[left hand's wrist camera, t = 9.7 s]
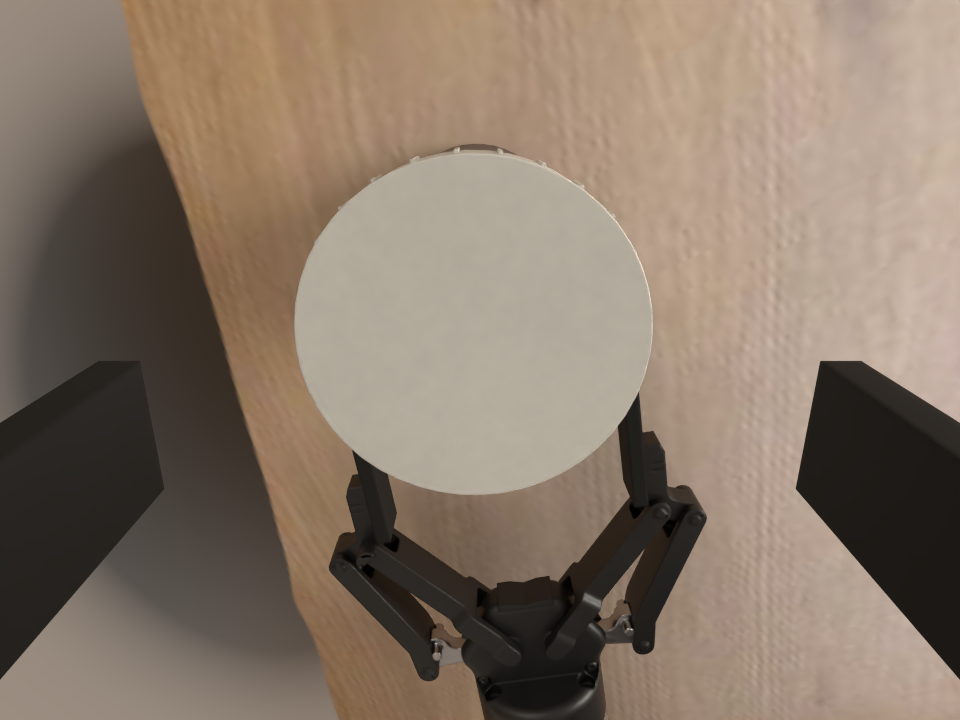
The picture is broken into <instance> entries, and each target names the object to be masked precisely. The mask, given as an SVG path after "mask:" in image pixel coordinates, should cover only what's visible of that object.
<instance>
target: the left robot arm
mask: <svg viewBox="0 0 960 720" xmlns="http://www.w3.org/2000/svg"><path fill="white" fill-rule="evenodd" d="M163 490H164V485H163V480H162V475H161V470H160V464H159V459H158V454H157V449H156V444H155V438H154V433H153V428H152V423H151V418H150V413H149V407H148V402H147V397H146V392H145V387H144V381H143V376H142V371H141V366H140V361H98V362H97V363H95V364H93V365H92V366H90V367H89V368H87V369H85V370H84V371H82V372H81V373H79V374H77V375H76V376H74V377H73V378H71V379H69V380H68V381H66V382H65V383H63V384H62V385H60V386H58V387H57V388H55V389H54V390H52V391H50V392H49V393H47V394H46V395H44V396H42V397H41V398H39V399H38V400H36V401H34V402H33V403H31V404H30V405H28V406H26V407H25V408H23V409H22V410H20V411H19V412H17V413H15V414H14V415H12V416H10V417H9V418H7V419H6V420H4V421H3V422H1V423H0V679H1V678H2V677H3V676H4V675H5V673H6V672H7V671H8V670H9V669H10V668H11V666H12V665H13V664H14V663H15V662H16V661H17V659H18V658H19V657H20V656H21V655H22V654H23V652H24V651H25V650H26V649H27V648H28V647H29V645H30V644H31V643H32V642H33V641H34V640H35V638H36V637H37V636H38V635H39V634H40V633H41V631H42V630H43V629H44V628H45V627H46V626H47V625H48V623H49V622H50V621H51V620H52V619H53V617H54V616H55V615H56V614H57V613H58V612H59V611H60V609H61V608H62V607H63V606H64V605H65V604H66V602H67V601H68V600H69V599H70V598H71V597H72V595H73V594H74V593H75V592H76V591H77V590H78V588H79V587H80V586H81V585H82V584H83V583H84V582H85V580H86V579H87V578H88V577H89V576H90V575H91V573H92V572H93V571H94V570H95V569H96V568H97V566H98V565H99V564H100V563H101V562H102V560H103V559H104V558H105V557H106V556H107V555H108V554H109V552H110V551H111V550H112V549H113V548H114V547H115V545H116V544H117V543H118V542H119V541H120V540H121V539H122V537H123V536H124V535H125V534H126V533H127V532H128V530H129V529H130V528H131V527H132V526H133V525H134V523H135V522H136V521H137V520H138V519H139V518H140V516H141V515H142V514H143V513H144V512H145V511H146V509H147V508H148V507H149V506H150V505H151V504H152V502H153V501H154V500H155V499H156V498H157V497H158V495H159V494H160V493H161V492H162V491H163ZM796 490H797V491H798V492H799V493H800V494H801V496H802V497H803V498H804V499H805V500H806V501H807V502H808V504H809V505H810V506H811V507H812V508H813V509H814V511H815V512H816V513H817V514H818V515H819V516H820V518H821V519H822V520H823V521H824V522H825V523H826V525H827V526H828V527H829V528H830V529H831V530H832V532H833V533H834V534H835V535H836V536H837V537H838V539H839V540H840V541H841V542H842V543H843V544H844V545H845V547H846V548H847V549H848V550H849V551H850V552H851V554H852V555H853V556H854V557H855V558H856V559H857V561H858V562H859V563H860V564H861V565H862V566H863V568H864V569H865V570H866V571H867V572H868V573H869V575H870V576H871V577H872V578H873V579H874V580H875V582H876V583H877V584H878V585H879V586H880V587H881V588H882V590H883V591H884V592H885V593H886V594H887V595H888V597H889V598H890V599H891V600H892V601H893V602H894V604H895V605H896V606H897V607H898V608H899V609H900V611H901V612H902V613H903V614H904V615H905V616H906V618H907V619H908V620H909V621H910V622H911V623H912V625H913V626H914V627H915V628H916V629H917V630H918V632H919V633H920V634H921V635H922V636H923V637H924V638H925V640H926V641H927V642H928V643H929V644H930V645H931V647H932V648H933V649H934V650H935V651H936V652H937V654H938V655H939V656H940V657H941V658H942V659H943V661H944V662H945V663H946V664H947V665H948V666H949V668H950V669H951V670H952V671H953V672H954V673H955V675H956V676H957V677H958V678H959V679H960V423H959V422H957V421H956V420H954V419H953V418H951V417H950V416H948V415H946V414H945V413H943V412H942V411H940V410H938V409H937V408H935V407H934V406H932V405H930V404H929V403H927V402H926V401H924V400H922V399H921V398H919V397H918V396H916V395H914V394H913V393H911V392H910V391H908V390H906V389H905V388H903V387H902V386H900V385H899V384H897V383H895V382H894V381H892V380H891V379H889V378H887V377H886V376H884V375H883V374H881V373H879V372H878V371H876V370H875V369H873V368H871V367H870V366H868V365H867V364H865V363H863V362H862V361H820V366H819V371H818V376H817V381H816V387H815V392H814V397H813V402H812V407H811V412H810V418H809V423H808V428H807V433H806V438H805V444H804V449H803V454H802V459H801V464H800V470H799V475H798V480H797V485H796Z"/></svg>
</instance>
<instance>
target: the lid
mask: <svg viewBox="0 0 960 720" xmlns="http://www.w3.org/2000/svg"><path fill="white" fill-rule="evenodd" d="M370 181H371V184H369V185H368V186H366V187H365V188H364V189H363V190H361V191H360V192H359V193H358V194H356V195H355V196H354V197H352V198H351V199H350V200H349V201H347V202H346V203H344V204H342V205H341V206H339V207H338V210H339V211H338V212H337V213H336V214H335V216H334V217H333V218H332V219H331V220H330V222H329V223H328V224H327V226H326V227H325V229H324V230H323V232H322V233H321V234H320V236H319V237H318V239H317V240H315V242H314V244H315V245H314V247H313V249H312V250H311V252H310V254H309V256H308V258H307V261H306V264H305V267H304V270H303V272H302V275H301V278H300V281H299V286H298V291H297V296H296V301H295V315H294V333H295V345H296V351H297V356H298V360H299V365H300V369H301V372H302V375H303V378H304V380H305V383H306V386H307V389H308V391H309V393H310V395H311V397H312V399H313V400H314V402H315V404H316V406H317V408H318V410H319V411H320V413H321V414H322V416H323V417H324V419H325V420H326V421H327V423H328V424H329V426H330V427H331V428H332V429H333V431H334V432H335V433H336V434H337V435H338V436H339V437H340V438H341V439H342V441H343V442H344V443H345V444H346V445H348V446H349V447H350V448H351V449H352V450H353V451H354V452H356V453H357V454H358V455H359V456H360V457H361V458H363V459H364V460H366V461H367V462H369V463H370V464H372V465H373V466H375V467H376V468H378V469H379V470H381V471H383V472H385V473H387V474H389V475H391V476H393V477H395V478H397V479H399V480H401V481H404V482H407V483H409V484H412V485H415V486H417V487H421V488H425V489H429V490H433V491H437V492H442V493H450V494H457V495H489V494H499V493H506V492H511V491H515V490H520V489H524V488H527V487H530V486H533V485H536V484H539V483H542V482H545V481H547V480H549V479H551V478H553V477H555V476H557V475H559V474H562V473H563V472H565V471H567V470H568V469H570V468H571V467H573V466H575V465H576V464H578V463H579V462H581V461H582V460H584V459H585V458H586V457H587V456H588V455H590V454H591V453H592V452H593V451H595V450H596V449H597V448H598V447H599V446H600V445H601V444H602V443H603V442H604V441H605V440H606V439H607V438H608V437H609V436H610V435H611V434H612V433H613V431H614V430H615V429H616V427H617V426H618V425H619V423H620V422H621V421H622V419H623V418H624V417H625V415H626V414H627V412H628V410H629V408H630V407H631V405H632V403H633V401H634V400H635V398H636V396H637V394H638V391H639V389H640V386H641V384H642V381H643V379H644V376H645V373H646V369H647V365H648V361H649V357H650V351H651V343H652V334H653V322H652V305H651V299H650V293H649V287H648V284H647V281H646V277H645V274H644V271H643V268H642V265H641V263H640V260H639V258H638V256H637V254H636V253H637V251H636V249H635V248H633V246H632V244H631V242H630V241H629V239H628V238H627V236H626V234H625V233H624V231H623V230H622V228H621V227H620V225H619V224H618V223H617V222H616V220H615V219H614V218H615V215H614V214H613V213H611V212H610V211H609V210H607V209H606V208H604V207H603V206H602V205H601V204H600V203H599V202H598V201H597V200H595V199H594V198H593V197H592V196H591V195H590V194H588V193H587V192H586V191H585V190H584V189H583V188H584V187H585V186H584V185H582V184H581V183H579V182H578V181H576V180H573V181H570V180H568V179H567V178H565V177H564V176H562V175H561V174H559V173H558V172H556V171H555V170H552V169H550V168H548V167H546V163H544V162H543V161H541V160H539V159H538V160H537V162H535V161H533V160H530V159H526V158H523V157H520V156H516V155H513V154H509V153H503V150H502V149H499V148H497V152H496V151H490V150H460V147H456V148H455V149H454V151H451V152H443V153H439V154H435V155H431V156H427V157H423V158H419V156H416V157H414V158H412V159H410V163H408V164H405V165H403V166H401V167H398V168H397V169H395V170H393V171H391V172H390V173H388V174H386V175H384V176H383V175H382V174H380V175H378V176H376V177H374V178H372V179H371V180H370Z"/></svg>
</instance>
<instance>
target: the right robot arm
mask: <svg viewBox="0 0 960 720" xmlns="http://www.w3.org/2000/svg"><path fill="white" fill-rule="evenodd" d="M618 432H619V442H620V451H621V461H622V471H623V480H624V483H625V485H626V488H627V490H628V493H629V495H630V497H629V499H628V500H627V501H626V502H625V504H624V505H623V506H622V507H621V509H620V510H619V511H618V513H617V514H616V515H615V516H614V518H613V519H612V520H611V522H610V523H609V524H608V525H607V527H606V528H605V529H604V531H603V532H602V533H601V534H600V536H599V537H598V538H597V539H596V541H595V542H594V543H593V545H592V546H591V547H590V548H589V550H588V551H587V552H586V554H585V555H584V556H583V557H582V559H581V560H580V561H579V562H578V563H576V562H574V563H573V564H572V565H571V566H570V567H569V568H568V570H567V571H566V572H565V574H564V575H563V576H562V577H561V579H560V580H559V581H558V582H557V581H553V580H550V577H549V576H546V577H539V578H535V579H532V580H529V581H526V582H511V581H509V582H502V583H497V588H494V589H492V590H490V589H489V588H487V587H486V586H485V585H483V584H482V583H480V582H479V581H477V580H476V579H474V578H473V577H467V578H465V577H463V576H462V575H461V574H459V573H458V572H456V571H455V570H453V569H452V568H451V567H449V566H448V565H446V564H445V563H443V562H442V561H440V560H439V559H438V558H436V557H435V556H433V555H432V554H430V553H429V552H427V551H426V550H425V549H423V548H422V547H420V546H419V545H417V544H416V543H415V542H413V541H412V540H410V539H409V538H407V537H406V536H404V535H403V534H402V533H400V532H399V531H397V530H396V529H394V523H395V519H396V514H397V511H396V507H395V503H394V499H393V495H392V491H391V487H390V483H389V479H388V475H387V473H385V472H383V471H381V470H379V469H378V468H376V467H375V466H373V465H372V464H370V463H369V462H367V461H366V460H364V459H363V458H361V457H360V456H359V455H358V454H357V453H356V452H354V451H353V450H352V451H353V455H354V459H355V463H356V467H357V470H358V474H355V475H352V478H351V481H350V484H349V486H348V490H347V496H346V498H347V502H348V506H349V509H350V512H351V517H352V520H353V524H354V528H355V532H353V533H350V532H345V533H343V534H341V535H340V536H339V538H338V541H337V544H336V547H335V550H334V553H333V556H332V559H331V562H330V565H329V570H330V572H331V573H332V574H333V575H334V576H335V578H336V579H337V580H338V581H339V582H340V583H341V584H342V585H343V586H344V587H345V588H346V589H347V590H348V591H349V592H350V593H351V594H352V595H353V596H354V597H355V598H356V599H357V600H358V601H359V602H360V603H361V604H362V605H363V606H364V607H365V608H366V609H367V610H368V611H369V612H370V613H371V615H372V616H373V617H374V618H375V619H376V620H377V621H378V622H379V623H380V624H381V625H382V626H383V627H384V628H385V629H386V630H387V631H388V632H389V633H390V634H391V635H392V636H393V637H394V638H395V639H396V640H397V641H398V642H399V643H400V644H401V645H402V646H403V647H404V648H405V649H406V650H407V652H408V653H409V654H410V656H411V658H412V661H413V663H414V665H415V668H416V670H417V673H418V675H419V677H420V678H421V679H423V680H425V681H433V680H435V679H436V678H437V677H438V675H439V667H442V666H446V665H451V664H455V663H460V662H464V663H465V664H466V665H467V666H468V667H469V668H470V669H471V670H472V671H473V673H474V675H475V679H476V683H477V688H478V692H479V697H480V701H481V706H482V710H483V715H484V719H485V720H608V717H607V711H606V702H605V694H604V687H603V679H602V671H601V663H600V655H601V652H602V650H603V648H604V646H605V644H615V643H632V645H633V649H634V651H635V652H636V653H638V654H648V653H650V652H651V651H652V650H653V648H654V642H655V623H656V620H657V618H658V616H659V614H660V612H661V610H662V608H663V606H664V604H665V602H666V600H667V598H668V596H669V594H670V592H671V590H672V588H673V586H674V584H675V582H676V580H677V578H678V576H679V574H680V572H681V570H682V568H683V566H684V564H685V563H686V561H687V559H688V557H689V555H690V553H691V551H692V549H693V547H694V545H695V543H696V541H697V539H698V537H699V535H700V533H701V531H702V529H703V527H704V525H705V523H706V519H707V517H706V514H705V512H704V510H703V509H702V507H701V505H700V503H699V502H698V500H697V498H696V496H695V495H694V493H693V491H692V490H691V488H690V487H688V486H686V485H680V486H677V487H676V488H672V487H668V486H667V476H666V462H665V451H664V449H663V448H662V446H661V444H660V442H659V441H658V439H657V437H656V435H655V433H654V432H653V431H651V432H644V433H642V423H641V411H640V400H639V391H638V394H637V396H636V398H635V400H634V401H633V403H632V405H631V407H630V408H629V410H628V412H627V414H626V415H625V417H624V418H623V419H622V421H621V422H620V423H619V425H618ZM645 547H646V548H645ZM644 549H645V550H644ZM643 550H644V552H643V554H642V556H641V558H640V560H639V562H638V565H637V567H636V569H635V571H634V573H633V575H632V577H631V579H630V582H629V584H628V587H627V590H626V594H625V600H619V601H617V607H616V608H615V609H614V612H613V614H612V615H611V616H610V617H609V618H607V619H601V617H600V615H599V614H598V613H599V611H600V609H601V605H602V601H603V599H604V598H605V596H606V595H607V594H608V593H609V591H610V590H611V589H612V588H613V587H614V585H615V584H616V583H617V582H618V580H619V579H620V578H621V577H622V576H623V574H624V573H625V572H626V571H627V569H628V568H629V567H630V566H631V565H632V563H633V562H634V561H635V560H636V558H637V557H638V556H639V555H640V553H641V552H642V551H643ZM409 592H410V593H412V594H413V595H415V596H416V597H418V598H419V599H421V600H422V601H424V602H425V603H426V604H428V605H429V606H431V607H432V608H434V609H435V610H437V611H438V612H440V613H441V614H443V615H444V616H446V617H447V618H449V619H450V620H451V621H452V623H453V625H454V627H455V629H456V630H457V631H458V632H460V633H461V634H462V637H460V638H455V637H452V636H450V635H449V634H448V633H447V631H446V630H444V626H443V625H442V624H440V623H437V624H434V622H433V620H432V618H431V616H430V615H429V613H428V612H427V611H426V610H425V609H424V608H423V606H422V605H421V604H420V603H419V602H418V601H417V600H416V599H415V598H414V597H413V596H412V595H411V594H410V593H409Z"/></svg>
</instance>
